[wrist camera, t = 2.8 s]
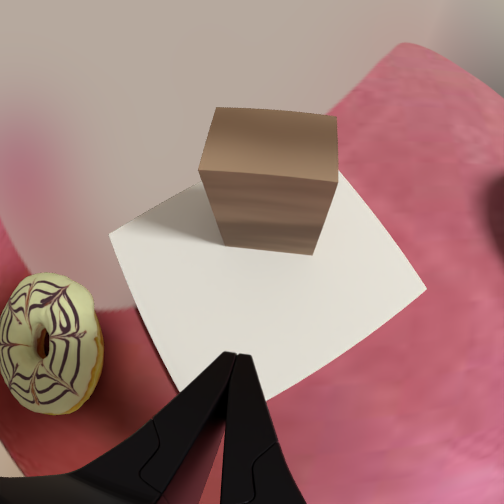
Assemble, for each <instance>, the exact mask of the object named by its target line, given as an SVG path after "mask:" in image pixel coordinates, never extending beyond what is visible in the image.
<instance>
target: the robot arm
mask: <svg viewBox="0 0 504 504" xmlns="http://www.w3.org/2000/svg"><path fill="white" fill-rule="evenodd" d="M152 419H153V420H152ZM152 419H150V420H149V421H148V422H147V423H146V424H144V425H143V426H142V427H141V428H140V429H139V430H137V431H136V432H135V433H134V434H132V435H131V436H130V437H128V438H127V439H126V440H124V441H123V442H121V443H120V444H118V445H117V446H116V447H114V448H112V449H111V450H109V451H108V452H106V453H105V454H103V455H101V456H100V457H98V458H97V459H95V460H93V461H92V462H90V463H89V464H87V465H85V466H84V467H82V468H80V469H78V470H75V471H72V472H69V473H65V474H59V475H48V476H35V477H12V478H9V477H0V504H198V503H199V501H200V498H201V495H202V493H203V490H204V487H205V484H206V482H207V479H208V476H209V473H210V471H211V468H212V465H213V462H214V459H215V456H216V454H217V451H218V448H219V445H220V442H221V439H222V437H223V434H224V431H225V438H224V452H223V466H222V480H221V496H220V504H307V503H306V501H305V499H304V498H303V496H302V494H301V492H300V490H299V488H298V487H297V485H296V483H295V481H294V479H293V477H292V475H291V472H290V470H289V468H288V466H287V463H286V461H285V458H284V455H283V453H282V450H281V446H280V443H279V442H278V438H277V435H276V432H275V428H274V425H273V422H272V419H271V416H270V413H269V410H268V406H267V403H266V400H265V397H264V394H263V390H262V387H261V384H260V381H259V377H258V374H257V371H256V368H255V364H254V361H253V358H252V356H251V355H250V354H242V353H239V354H238V355H237V353H235V352H228V351H224V352H222V353H221V354H220V355H219V356H218V357H217V358H216V359H215V360H214V361H213V362H212V363H211V364H210V365H209V366H208V367H207V368H205V369H204V370H203V371H202V372H201V373H200V374H199V375H198V376H197V377H196V378H195V379H194V380H193V381H192V382H191V383H190V384H189V385H187V386H186V387H185V388H184V389H183V390H182V391H181V392H180V393H179V394H178V395H177V396H176V397H174V398H173V399H172V400H171V401H170V402H169V403H168V404H167V405H166V406H165V407H164V408H162V409H161V410H160V411H159V412H158V413H157V414H156V415H155V416H154V417H153V418H152Z"/></svg>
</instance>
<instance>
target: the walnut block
mask: <svg viewBox="0 0 504 504" xmlns="http://www.w3.org/2000/svg"><path fill="white" fill-rule="evenodd" d="M198 171H199V174H200V177H201V180H202V183H203V186H204V189H205V191H206V194H207V197H208V200H209V203H210V206H211V209H212V211H213V214H214V217H215V220H216V223H217V225H218V228H219V231H220V234H221V237H222V239H223V242H224V245H225V246H228V247H237V248H246V249H256V250H265V251H274V252H284V253H293V254H302V255H311V256H313V253H314V250H315V248H316V245H317V242H318V239H319V237H320V234H321V231H322V228H323V226H324V223H325V220H326V217H327V214H328V211H329V209H330V206H331V203H332V200H333V197H334V194H335V191H336V188H337V185H338V138H337V117H336V116H328V115H321V114H312V113H302V112H292V111H282V110H268V109H251V108H224V107H223V108H222V107H216V110H215V113H214V116H213V120H212V123H211V126H210V130H209V133H208V137H207V140H206V143H205V147H204V150H203V154H202V157H201V161H200V165H199V168H198Z"/></svg>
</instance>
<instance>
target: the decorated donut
mask: <svg viewBox="0 0 504 504" xmlns="http://www.w3.org/2000/svg"><path fill="white" fill-rule="evenodd" d="M47 332H48V333H49V348H50V350H49V355H48V356H47V357H46V355H45V352H44V338H45V335H46V333H47ZM103 360H104V341H103V335H102V331H101V327H100V324H99V321H98V318H97V315H96V313H95V310H94V300H93V297H92V295H91V294H90V292H89V291H88V290H87V289H86V288H85V287H84V286H82V285H81V284H79V283H77V282H75V281H73V280H71V279H69V278H68V277H66V276H62V275H58V274H55V273H47V272H45V273H38V274H34V275H32V276H28V277H26V278H25V279H24V280H22V281H21V282H20V283H19V285H18V286H17V287H16V289H15V290H14V292H13V293H12V295H11V297H10V298H9V300H8V302H7V304H6V306H5V308H4V310H3V312H2V315H1V318H0V369H1V374H2V376H3V378H4V381H5V383H6V384H7V386H8V387H9V389H10V391H11V393H12V394H13V395H14V397H15V398H16V399H17V400H18V401H19V403H20V404H21V405H23V406H24V407H26V408H28V409H29V410H32V411H33V412H38V413H43V414H49V415H60V414H70V413H72V412H74V411H76V410H78V409H79V408H80V407H81V406H82V405H83V403H84V402H85V401H86V400H88V399H89V398H90V396H91V394H92V393H93V391H94V389H95V387H96V385H97V383H98V380H99V378H100V375H101V372H102V368H103Z"/></svg>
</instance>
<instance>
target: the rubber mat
mask: <svg viewBox="0 0 504 504" xmlns="http://www.w3.org/2000/svg"><path fill="white" fill-rule="evenodd" d="M109 238H110V240H111V243H112V246H113V248H114V251H115V254H116V256H117V259H118V262H119V264H120V267H121V269H122V272H123V274H124V277H125V279H126V282H127V284H128V286H129V289H130V291H131V293H132V296H133V298H134V300H135V303H136V305H137V307H138V310H139V312H140V314H141V316H142V318H143V321H144V323H145V325H146V327H147V329H148V331H149V333H150V336H151V338H152V340H153V342H154V344H155V346H156V348H157V350H158V352H159V354H160V356H161V358H162V360H163V362H164V364H165V366H166V368H167V369H168V371H169V373H170V375H171V377H172V379H173V381H174V383H175V384H176V386H177V388H178V390H179V392H181V391H182V390H183V389H184V388H185V387H186V386H187V385H189V384H190V383H191V382H192V381H193V380H194V379H195V378H196V377H197V376H198V375H199V374H200V373H201V372H202V371H203V370H204V369H205V368H207V367H208V366H209V365H210V364H211V363H212V362H213V361H214V360H215V359H216V358H217V357H218V356H219V355H220V354H221V353H222V352H224V351H228V352H235V353H237V355H238V354H239V353H242V354H250V355H251V356H252V358H253V361H254V364H255V368H256V371H257V374H258V377H259V381H260V384H261V387H262V390H263V394H264V397H265V400H266V401H267V400H268V399H270V398H272V397H274V396H276V395H277V394H279V393H281V392H282V391H284V390H286V389H288V388H289V387H291V386H293V385H294V384H296V383H298V382H299V381H301V380H302V379H304V378H306V377H307V376H309V375H311V374H312V373H314V372H315V371H317V370H318V369H320V368H322V367H323V366H325V365H326V364H328V363H329V362H331V361H332V360H334V359H335V358H337V357H338V356H340V355H341V354H343V353H344V352H346V351H347V350H348V349H350V348H351V347H353V346H354V345H356V344H357V343H358V342H360V341H361V340H363V339H364V338H365V337H367V336H368V335H369V334H371V333H372V332H374V331H375V330H376V329H378V328H379V327H380V326H382V325H383V324H384V323H386V322H387V321H388V320H389V319H391V318H392V317H393V316H395V315H396V314H397V313H398V312H400V311H401V310H402V309H403V308H405V307H406V306H407V305H408V304H410V303H411V302H412V301H413V300H415V299H416V298H417V297H418V296H419V295H421V294H422V293H423V292H424V291H425V290H426V289H427V288H426V287H425V285H424V284H423V282H422V280H421V279H420V277H419V276H418V274H417V273H416V271H415V270H414V269H413V267H412V266H411V264H410V263H409V261H408V260H407V258H406V257H405V255H404V254H403V253H402V251H401V250H400V248H399V247H398V246H397V244H396V243H395V241H394V240H393V239H392V237H391V236H390V235H389V233H388V232H387V231H386V229H385V228H384V227H383V225H382V224H381V223H380V221H379V220H378V219H377V217H376V216H375V215H374V213H373V212H372V211H371V210H370V208H369V207H368V206H367V204H366V203H365V202H364V201H363V199H362V198H361V197H360V196H359V194H358V193H357V192H356V191H355V190H354V188H353V187H352V186H351V185H350V183H349V182H348V181H347V180H346V179H345V177H344V176H343V175H342V174H341V173H340V172H339V170H338V185H337V188H336V191H335V194H334V197H333V200H332V203H331V206H330V209H329V211H328V214H327V217H326V220H325V223H324V226H323V228H322V231H321V234H320V237H319V239H318V242H317V245H316V248H315V250H314V253H313V256H311V255H302V254H293V253H284V252H274V251H265V250H256V249H246V248H237V247H228V246H225V245H224V242H223V239H222V237H221V234H220V231H219V228H218V225H217V223H216V220H215V217H214V214H213V211H212V209H211V206H210V203H209V200H208V197H207V194H206V191H205V189H204V186H203V183H202V181H201V182H199V183H197V184H195V185H193V186H192V187H190V188H188V189H186V190H184V191H182V192H180V193H179V194H177V195H175V196H173V197H171V198H169V199H168V200H166V201H164V202H162V203H161V204H159V205H157V206H155V207H154V208H152V209H150V210H148V211H147V212H145V213H143V214H142V215H140V216H138V217H137V218H135V219H133V220H131V221H130V222H128V223H126V224H125V225H123V226H121V227H120V228H118V229H117V230H115V231H113V232H112V233H110V234H109Z"/></svg>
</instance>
